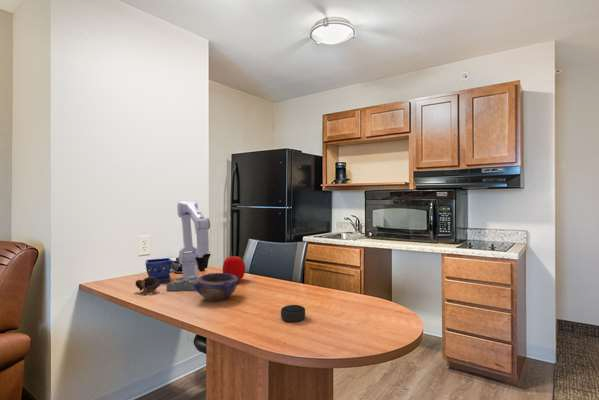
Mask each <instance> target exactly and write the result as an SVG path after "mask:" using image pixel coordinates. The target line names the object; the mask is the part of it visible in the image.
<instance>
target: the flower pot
mask: <svg viewBox="0 0 599 400" xmlns="http://www.w3.org/2000/svg"><path fill="white" fill-rule="evenodd" d="M145 270H146V273H147V277H155V278H157V279H158V282H159V283H166V282H170V280H171V275H170V274H171V270H172V259H171V257H166V258H165V257H162V258H153V259H152V258H151V259H145ZM153 284H156V280H155V281H154V282H153Z"/></svg>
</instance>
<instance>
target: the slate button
mask: <svg viewBox="0 0 599 400" xmlns="http://www.w3.org/2000/svg"><path fill="white" fill-rule="evenodd" d="M198 277H199V275H198V276H189V284H194V283H195V282H196V281H197V278H198Z"/></svg>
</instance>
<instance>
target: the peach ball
mask: <svg viewBox="0 0 599 400" xmlns="http://www.w3.org/2000/svg"><path fill="white" fill-rule="evenodd" d="M174 281H175V282H176V284H183V283H184V276H183V275H177V276H175V277H174Z"/></svg>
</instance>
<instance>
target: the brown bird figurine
mask: <svg viewBox="0 0 599 400" xmlns="http://www.w3.org/2000/svg"><path fill="white" fill-rule="evenodd" d="M155 280H156V283H153V282H154V281H155ZM135 286H136V288H138V289H139V290H140V291H142V294H143V295H146V294H147V293H150V292H153V291H155V290H157V289H158V288H159V287H161V286H160V282H158V279H157V278H155V277H149V276H147V277H144V278H143V279H142V280H141V279H137V280H135Z"/></svg>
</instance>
